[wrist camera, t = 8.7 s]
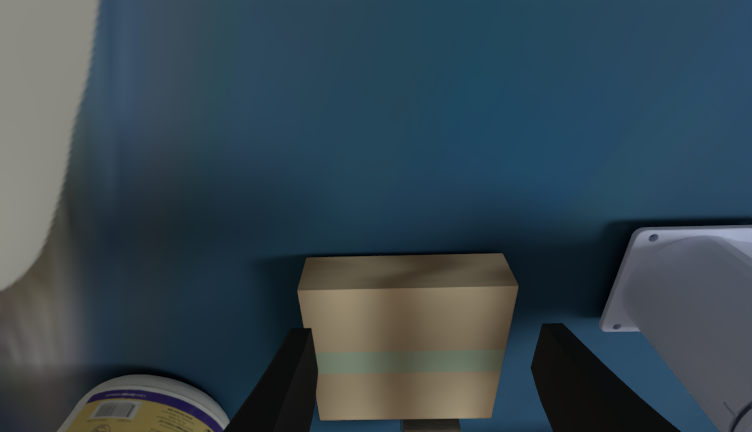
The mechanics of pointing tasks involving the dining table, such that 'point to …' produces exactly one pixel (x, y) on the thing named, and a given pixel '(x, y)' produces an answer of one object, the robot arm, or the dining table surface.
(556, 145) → the dining table surface
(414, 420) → the column
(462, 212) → the dining table surface
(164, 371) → the dining table surface
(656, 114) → the dining table surface
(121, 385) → the supplement tub
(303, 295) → the green-striped tan block
